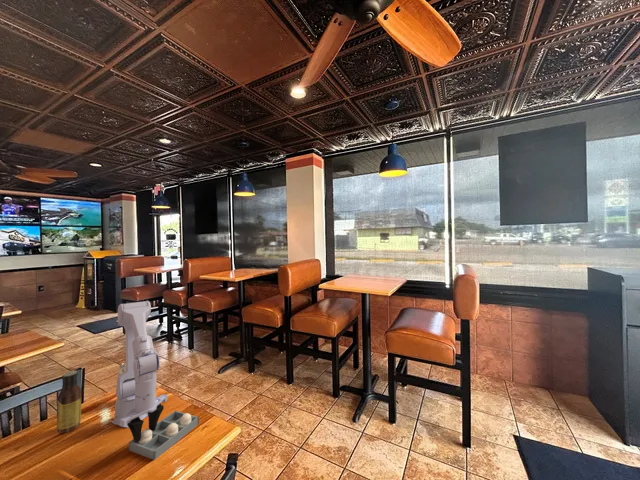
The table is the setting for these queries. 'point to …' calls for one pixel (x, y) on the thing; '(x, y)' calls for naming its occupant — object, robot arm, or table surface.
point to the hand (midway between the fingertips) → (144, 435)
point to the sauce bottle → (69, 403)
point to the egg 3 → (185, 419)
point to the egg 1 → (145, 436)
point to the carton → (163, 436)
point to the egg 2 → (172, 430)
